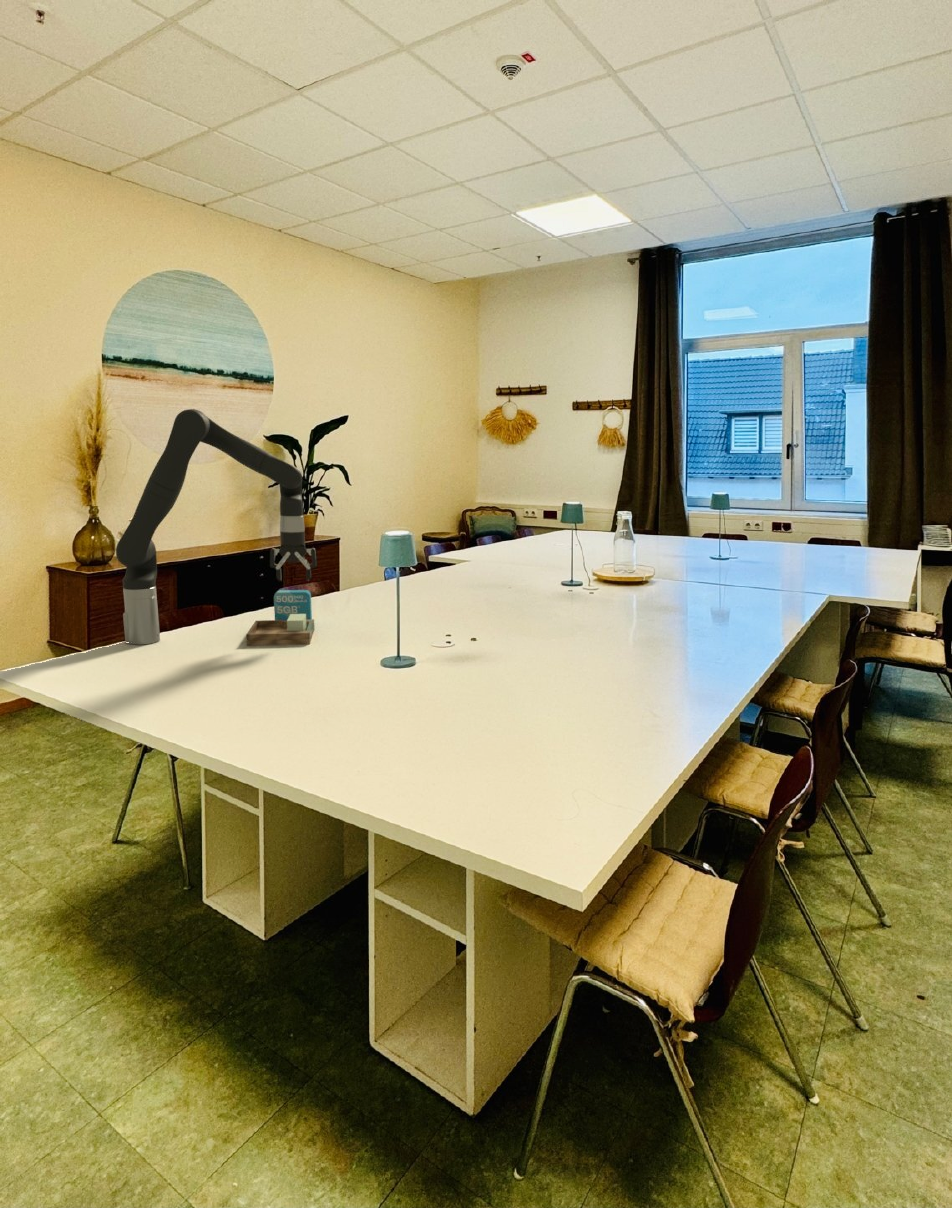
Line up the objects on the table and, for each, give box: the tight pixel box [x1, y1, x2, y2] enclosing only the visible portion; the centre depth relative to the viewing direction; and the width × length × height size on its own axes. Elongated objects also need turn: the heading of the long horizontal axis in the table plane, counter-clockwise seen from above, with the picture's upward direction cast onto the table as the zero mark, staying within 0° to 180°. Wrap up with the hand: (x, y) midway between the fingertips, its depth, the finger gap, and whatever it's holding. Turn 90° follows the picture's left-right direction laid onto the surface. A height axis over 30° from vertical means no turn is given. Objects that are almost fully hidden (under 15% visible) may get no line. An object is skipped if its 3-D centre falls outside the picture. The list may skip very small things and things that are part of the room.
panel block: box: [287, 614, 307, 631], centre depth 234 cm, size 5×10×5 cm, turn 8°
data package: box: [273, 589, 313, 620], centre depth 250 cm, size 12×4×12 cm, turn 97°
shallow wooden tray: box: [246, 618, 315, 647], centre depth 234 cm, size 19×20×4 cm
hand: (294, 580), depth 231 cm, fingers open, 8 cm apart
